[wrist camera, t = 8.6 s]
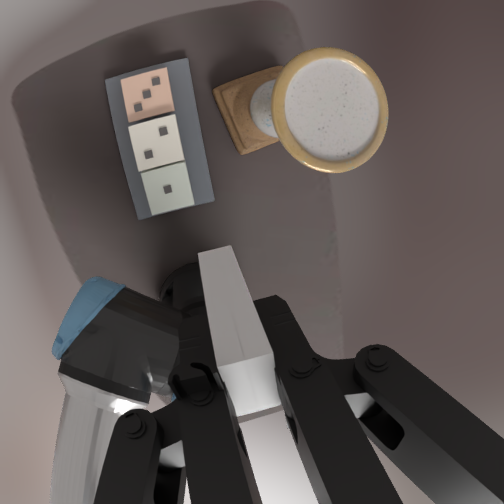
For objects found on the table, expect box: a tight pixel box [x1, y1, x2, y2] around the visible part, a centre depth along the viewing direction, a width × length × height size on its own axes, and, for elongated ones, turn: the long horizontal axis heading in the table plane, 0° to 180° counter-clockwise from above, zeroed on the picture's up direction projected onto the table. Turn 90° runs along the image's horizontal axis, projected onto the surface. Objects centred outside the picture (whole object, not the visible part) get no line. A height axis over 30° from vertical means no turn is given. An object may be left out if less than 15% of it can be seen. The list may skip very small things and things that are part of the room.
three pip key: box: [121, 67, 175, 123], centre depth 33 cm, size 6×6×4 cm
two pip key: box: [128, 114, 184, 171], centre depth 35 cm, size 6×6×4 cm
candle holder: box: [212, 47, 388, 173], centre depth 30 cm, size 11×11×24 cm
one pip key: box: [141, 158, 195, 215], centre depth 39 cm, size 6×6×4 cm
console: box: [105, 58, 215, 220], centre depth 37 cm, size 22×12×4 cm, turn 9°
